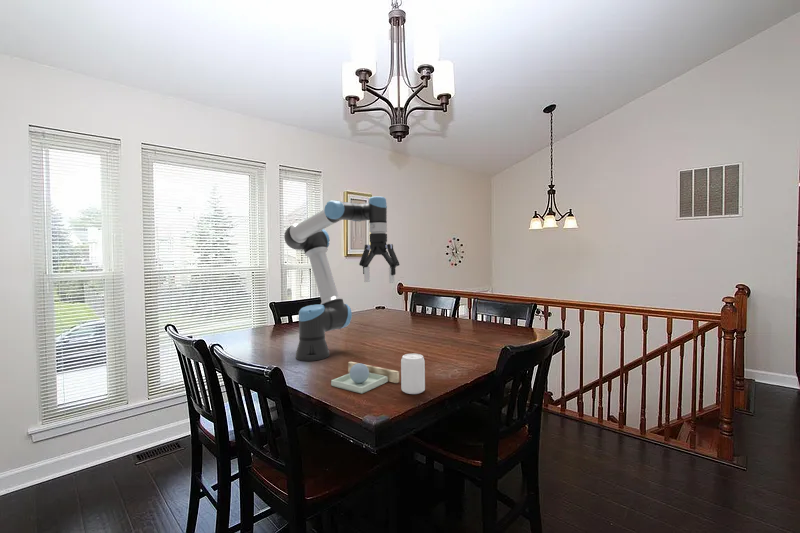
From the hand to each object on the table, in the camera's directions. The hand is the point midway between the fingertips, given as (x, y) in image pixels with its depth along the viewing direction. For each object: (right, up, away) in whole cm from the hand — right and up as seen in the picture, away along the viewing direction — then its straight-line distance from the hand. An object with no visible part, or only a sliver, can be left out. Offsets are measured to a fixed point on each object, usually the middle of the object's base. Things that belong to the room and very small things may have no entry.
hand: (379, 282), depth 167 cm
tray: (-6, -36, -26) cm, 45 cm away
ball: (-6, -35, -26) cm, 44 cm away
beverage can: (+14, -36, -34) cm, 51 cm away
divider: (-1, -35, -19) cm, 40 cm away
